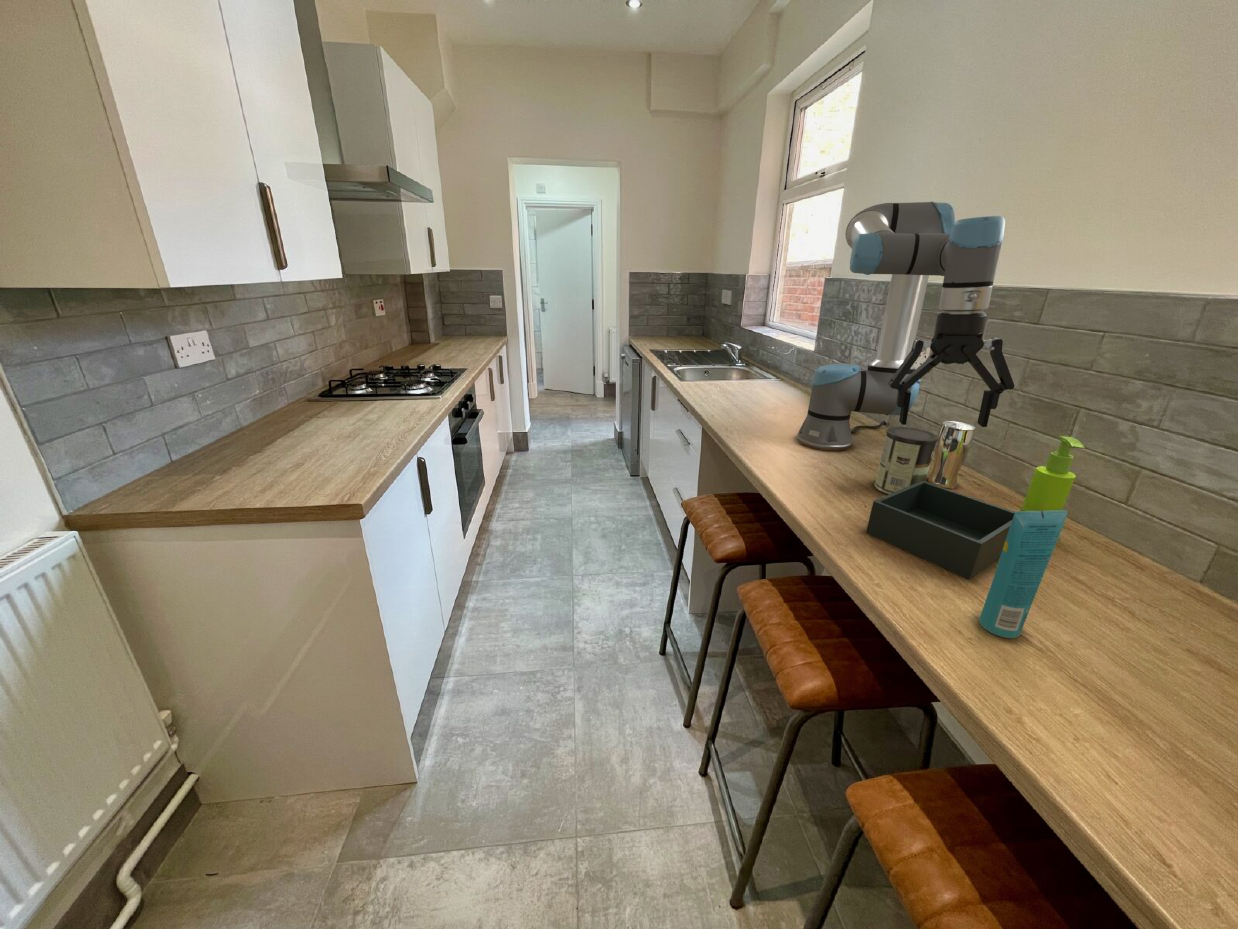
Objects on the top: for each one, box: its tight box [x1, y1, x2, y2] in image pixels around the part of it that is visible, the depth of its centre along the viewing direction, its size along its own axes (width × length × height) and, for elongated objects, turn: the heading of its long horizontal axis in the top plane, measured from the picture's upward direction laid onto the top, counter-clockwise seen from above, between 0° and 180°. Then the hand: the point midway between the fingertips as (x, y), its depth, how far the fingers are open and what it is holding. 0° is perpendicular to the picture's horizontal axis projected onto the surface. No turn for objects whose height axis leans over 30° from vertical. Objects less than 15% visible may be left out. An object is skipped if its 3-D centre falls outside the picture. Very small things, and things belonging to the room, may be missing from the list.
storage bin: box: [865, 481, 1016, 580], centre depth 93 cm, size 19×19×7 cm
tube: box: [978, 509, 1069, 639], centre depth 68 cm, size 7×5×19 cm, turn 100°
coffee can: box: [874, 426, 938, 495], centre depth 114 cm, size 10×10×14 cm
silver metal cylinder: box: [927, 420, 976, 489], centre depth 117 cm, size 7×7×15 cm
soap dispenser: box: [1020, 435, 1085, 511], centre depth 94 cm, size 6×7×20 cm
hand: (941, 424), depth 96 cm, fingers open, 13 cm apart
